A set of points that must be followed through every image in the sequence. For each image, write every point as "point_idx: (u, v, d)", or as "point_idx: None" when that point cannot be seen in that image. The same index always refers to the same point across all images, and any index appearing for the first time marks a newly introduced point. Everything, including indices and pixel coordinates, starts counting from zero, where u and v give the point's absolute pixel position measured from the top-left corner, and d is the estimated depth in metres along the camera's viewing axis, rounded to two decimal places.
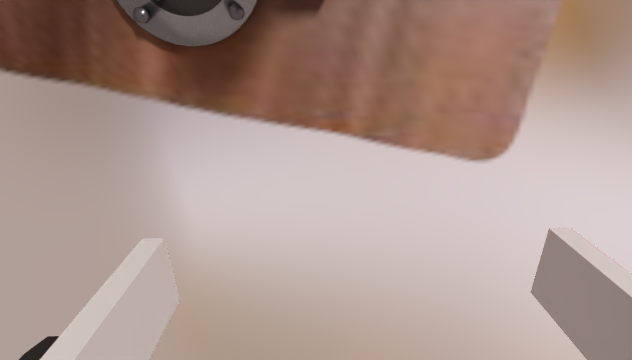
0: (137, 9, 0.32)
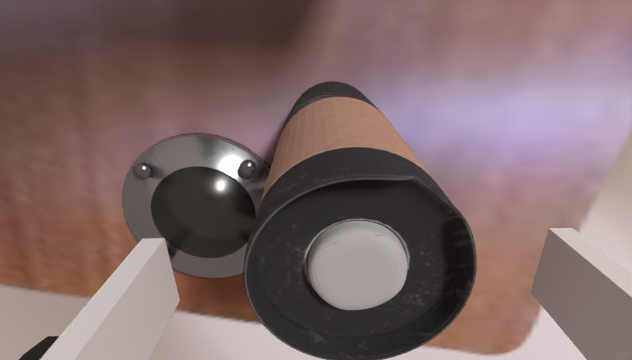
0: None
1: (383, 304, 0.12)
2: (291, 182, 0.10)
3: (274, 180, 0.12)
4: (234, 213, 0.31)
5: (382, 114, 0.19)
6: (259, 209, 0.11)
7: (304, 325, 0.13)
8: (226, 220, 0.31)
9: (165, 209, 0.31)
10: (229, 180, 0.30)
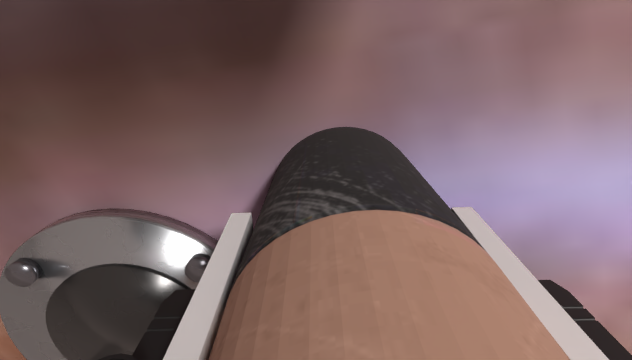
0: None
1: None
2: None
3: None
4: None
5: (492, 263, 0.07)
6: None
7: None
8: None
9: (70, 327, 0.19)
10: (171, 286, 0.18)
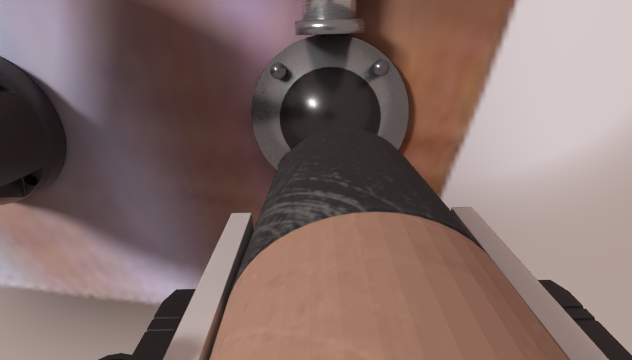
0: None
1: None
2: None
3: None
4: (328, 89, 0.31)
5: (491, 265, 0.07)
6: None
7: None
8: (336, 98, 0.31)
9: None
10: (291, 90, 0.31)
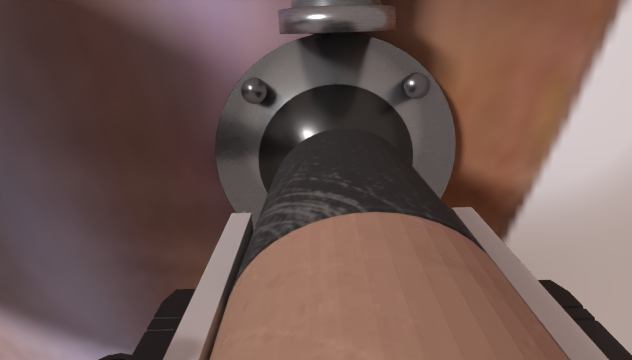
0: None
1: None
2: None
3: None
4: (333, 118, 0.20)
5: (491, 265, 0.07)
6: None
7: None
8: None
9: None
10: (276, 120, 0.20)
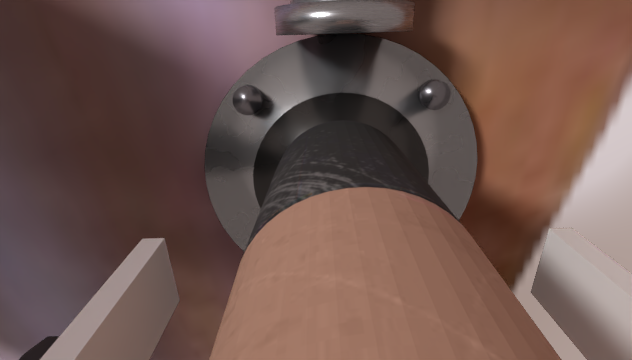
0: None
1: None
2: None
3: None
4: None
5: (463, 231, 0.09)
6: None
7: None
8: None
9: None
10: (273, 133, 0.17)
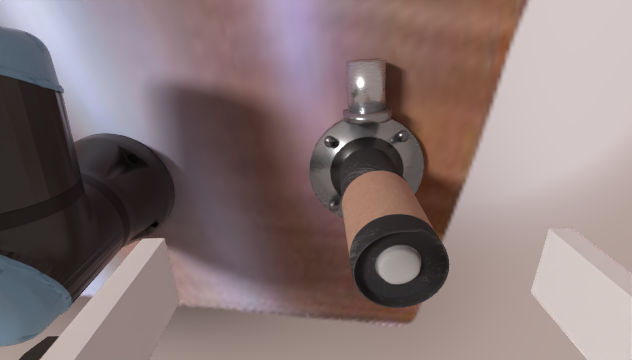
0: None
1: (410, 281, 0.27)
2: (372, 232, 0.25)
3: (359, 228, 0.27)
4: None
5: (403, 180, 0.34)
6: (355, 242, 0.27)
7: (374, 292, 0.28)
8: None
9: None
10: (339, 153, 0.43)
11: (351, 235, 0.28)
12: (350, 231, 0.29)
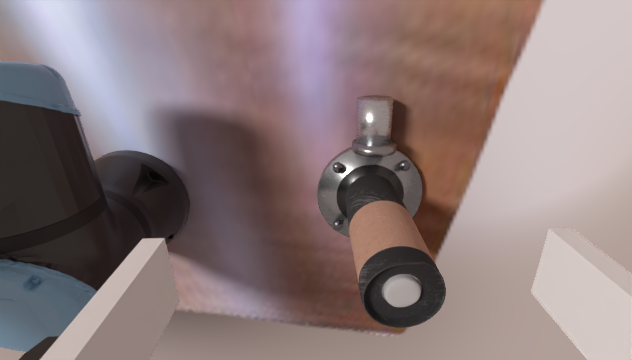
0: None
1: (411, 305, 0.31)
2: (380, 262, 0.29)
3: (369, 257, 0.31)
4: None
5: (405, 210, 0.38)
6: (365, 269, 0.30)
7: (379, 313, 0.32)
8: None
9: None
10: (345, 178, 0.47)
11: (360, 262, 0.32)
12: (359, 258, 0.33)
